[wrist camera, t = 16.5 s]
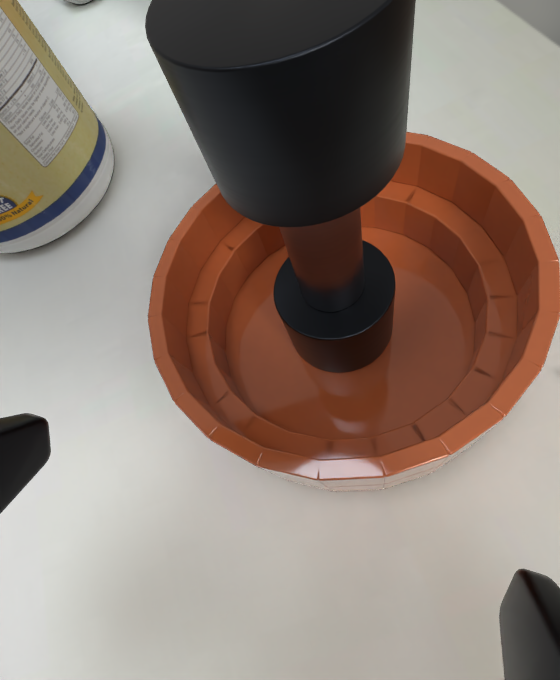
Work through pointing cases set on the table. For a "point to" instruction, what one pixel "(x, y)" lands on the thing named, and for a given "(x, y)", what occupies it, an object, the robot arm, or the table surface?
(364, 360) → the dumbbell
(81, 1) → the garlic
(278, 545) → the table surface
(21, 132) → the supplement tub
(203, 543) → the table surface
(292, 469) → the terracotta bowl
